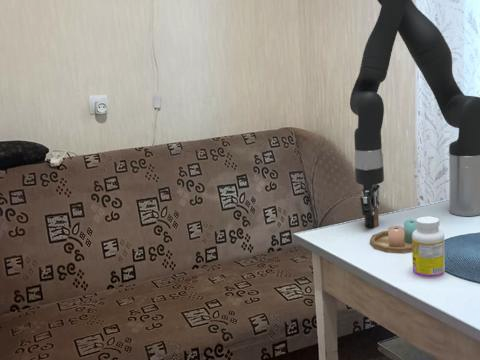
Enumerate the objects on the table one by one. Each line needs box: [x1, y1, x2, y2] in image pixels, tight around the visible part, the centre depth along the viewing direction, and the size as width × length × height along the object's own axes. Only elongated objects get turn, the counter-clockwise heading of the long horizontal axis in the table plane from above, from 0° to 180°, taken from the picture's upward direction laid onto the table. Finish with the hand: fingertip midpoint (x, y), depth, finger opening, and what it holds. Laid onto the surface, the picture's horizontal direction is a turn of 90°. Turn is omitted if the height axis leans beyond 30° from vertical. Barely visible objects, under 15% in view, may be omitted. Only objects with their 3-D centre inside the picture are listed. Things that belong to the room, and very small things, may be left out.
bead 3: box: [403, 219, 418, 244], centre depth 146 cm, size 4×4×5 cm
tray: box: [369, 230, 412, 254], centre depth 146 cm, size 14×14×2 cm
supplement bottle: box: [411, 216, 446, 279], centre depth 126 cm, size 7×7×13 cm
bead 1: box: [363, 207, 380, 229], centre depth 161 cm, size 4×4×5 cm
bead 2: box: [387, 225, 405, 248], centre depth 143 cm, size 4×4×5 cm
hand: (371, 225), depth 161 cm, fingers closed on bead 1, 3 cm apart
